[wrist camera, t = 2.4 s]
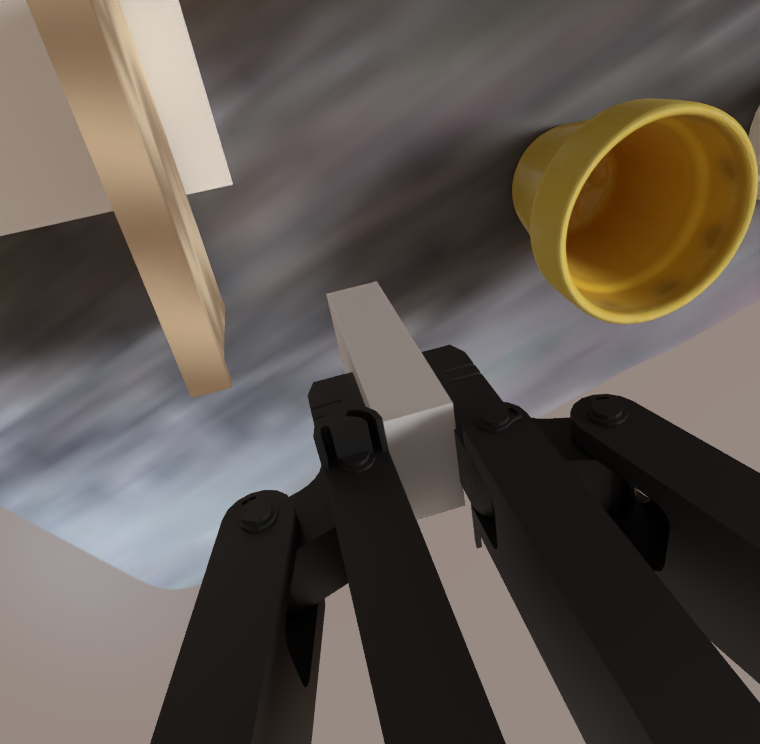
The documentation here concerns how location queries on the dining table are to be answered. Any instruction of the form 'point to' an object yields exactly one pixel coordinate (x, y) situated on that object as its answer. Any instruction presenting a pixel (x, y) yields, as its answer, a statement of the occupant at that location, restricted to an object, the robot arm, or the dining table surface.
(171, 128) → the card
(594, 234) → the plant pot
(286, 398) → the dining table surface
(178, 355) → the wooden board
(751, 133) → the cup
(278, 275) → the dining table surface
